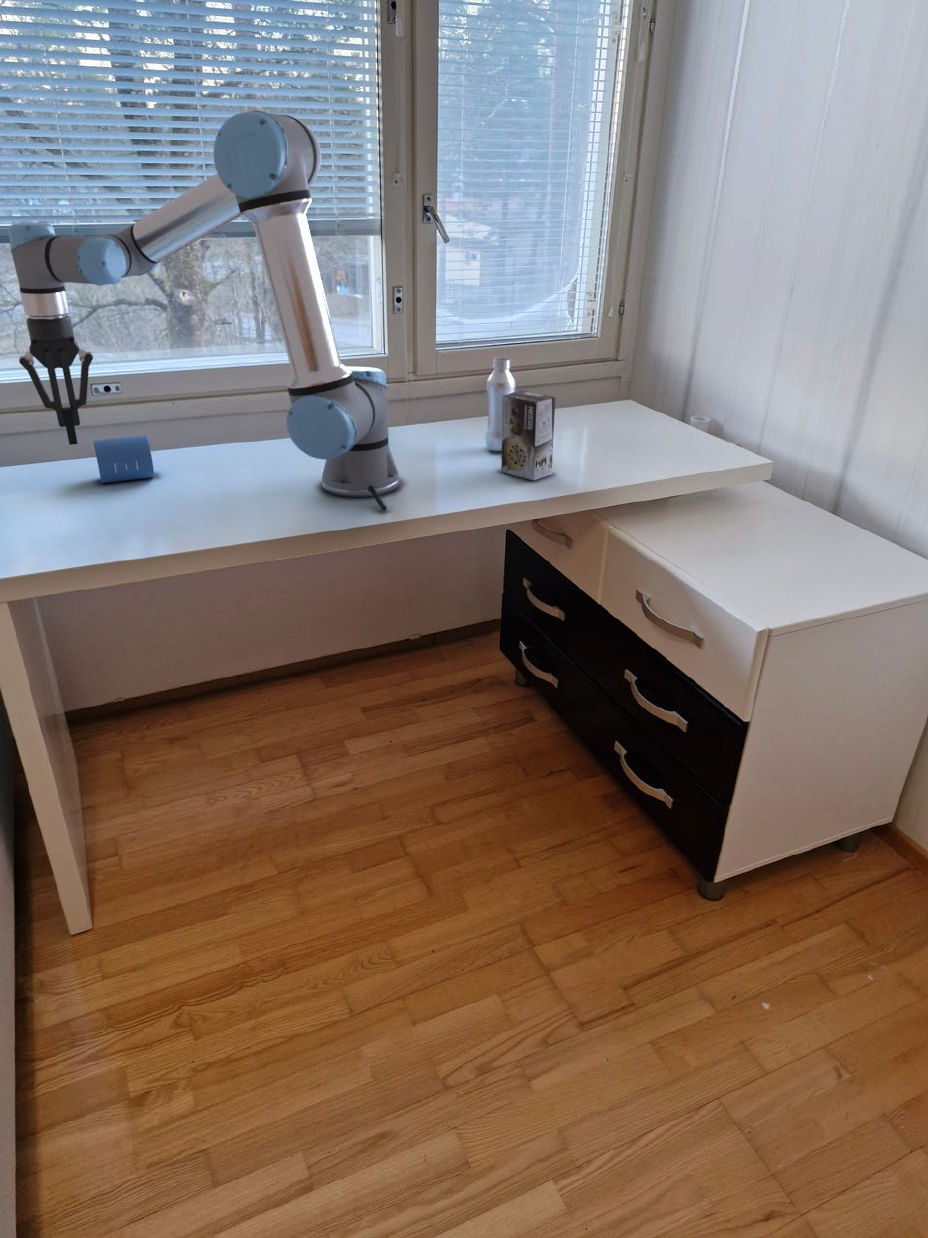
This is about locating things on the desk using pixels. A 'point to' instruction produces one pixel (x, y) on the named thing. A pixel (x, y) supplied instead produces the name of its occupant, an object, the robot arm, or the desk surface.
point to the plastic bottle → (497, 400)
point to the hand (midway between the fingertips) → (73, 442)
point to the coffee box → (527, 434)
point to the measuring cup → (124, 459)
